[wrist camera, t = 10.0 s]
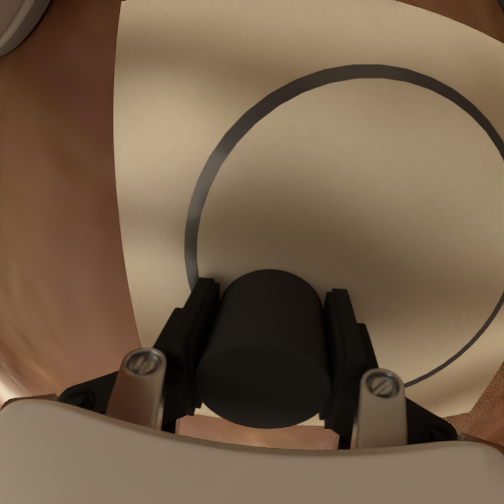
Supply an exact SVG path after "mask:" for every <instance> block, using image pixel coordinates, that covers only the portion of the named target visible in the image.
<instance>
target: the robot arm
mask: <svg viewBox="0 0 504 504" xmlns="http://www.w3.org/2000/svg"><path fill="white" fill-rule="evenodd" d="M219 303H220V285H219V283H216V282H215V280H214V278H203V277H200V278H199V279H198V281H197V283H196V284H195V286H194V288H193V290H192V292H191V294H190V296H189V297H188V299H187V301H186V303H185V305H184V307H183V308H178V307H176V308H175V309H174V310H173V312H172V313H171V315H170V317H169V319H168V320H167V322H166V324H165V326H164V327H163V329H162V331H161V333H160V335H159V336H158V338H157V340H156V342H155V344H154V345H153V347H152V348H149V347H144V348H138V349H135V350H133V351H131V352H129V353H128V354H127V355H126V356H125V357H124V359H123V360H122V363H121V366H120V369H119V371H116V372H113V373H111V374H108V375H105V376H102V377H99V378H96V379H93V380H90V381H87V382H84V383H81V384H78V385H75V386H72V387H70V388H68V389H66V390H65V391H64V392H62V394H61V395H60V396H59V397H57V395H56V394H48V395H40V396H31V397H21V398H13V399H9V400H8V401H6V402H5V403H4V404H3V405H2V407H1V410H0V504H504V447H503V446H501V445H498V444H495V443H492V442H489V441H486V440H483V439H480V438H477V437H474V436H471V435H468V434H465V433H461V434H460V435H457V433H456V430H455V429H454V427H453V426H452V425H451V424H450V423H448V422H447V421H445V420H444V419H442V418H440V417H439V416H437V415H435V414H433V413H432V412H430V411H428V410H427V409H425V408H423V407H422V406H420V405H418V404H417V403H415V402H413V401H412V400H410V399H409V398H407V397H405V387H404V383H403V381H402V379H401V378H400V376H398V375H397V374H396V373H394V372H392V371H390V370H388V369H383V368H379V366H378V362H377V359H376V356H375V352H374V349H373V345H372V342H371V339H370V336H369V332H368V329H367V326H366V324H365V323H357V321H356V317H355V314H354V310H353V307H352V304H351V300H350V297H349V294H348V291H347V289H337V288H333V289H332V291H331V292H327V293H326V297H325V302H324V308H323V315H324V322H325V330H326V337H327V345H328V353H329V361H330V370H331V379H332V391H331V396H330V398H329V401H328V403H327V404H326V406H325V407H324V408H323V409H322V410H321V411H320V412H319V420H324V426H325V429H331V430H333V431H334V432H335V433H337V437H336V443H335V449H334V450H298V449H278V448H265V447H254V446H245V445H237V444H229V443H222V442H215V441H209V440H203V439H198V438H192V437H187V436H182V435H178V431H179V418H182V417H184V416H186V415H190V416H193V415H194V412H195V409H196V408H198V409H200V408H201V406H202V403H203V402H202V401H201V399H200V398H199V396H198V394H197V392H196V389H195V385H194V376H195V370H196V368H197V365H198V362H199V359H200V356H201V353H202V351H203V348H204V345H205V342H206V339H207V337H208V334H209V331H210V328H211V325H212V323H213V320H214V317H215V314H216V311H217V309H218V306H219Z"/></svg>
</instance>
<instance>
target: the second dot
mask: <svg viewBox="0 0 504 504" xmlns="http://www.w3.org/2000/svg"><path fill="white" fill-rule="evenodd" d="M499 2H500V4H501V7H502V9H503V11H504V0H499Z"/></svg>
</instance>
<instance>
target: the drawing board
mask: <svg viewBox="0 0 504 504" xmlns="http://www.w3.org/2000/svg"><path fill="white" fill-rule="evenodd" d="M113 126H114V160H115V178H116V191H117V203H118V213H119V222H120V231H121V239H122V247H123V254H124V260H125V267H126V273H127V279H128V285H129V290H130V296H131V301H132V306H133V311H134V316H135V321H136V325H137V330H138V334H139V339H140V343H141V347H142V348H144V347H149V348H152V347H153V345H154V344H155V342H156V340H157V338H158V336H159V335H160V333H161V331H162V329H163V327H164V326H165V324H166V322H167V320H168V319H169V317H170V315H171V313H172V312H173V310H174V309H175V308H176V307H178V308H183V307H184V305H185V303H186V301H187V299H188V297H189V296H190V294H191V292H192V290H193V288H194V286H195V284H196V283H197V281H198V279H199V278H200V277H203V278H214V280H215V282H216V283H219V285H220V300H221V298H222V295H223V293H224V292H225V290H226V289H227V287H228V286H229V285H230V284H231V283H232V282H233V281H235V280H236V279H237V278H239V277H241V276H243V275H245V274H247V273H250V272H253V271H257V270H265V269H275V270H282V271H286V272H289V273H292V274H294V275H297V276H298V277H300V278H302V279H303V280H305V281H306V282H308V283H309V284H310V285H311V286H312V287H313V289H314V290H315V291H316V292H317V294H318V296H319V298H320V300H321V303H322V308H324V302H325V297H326V293H327V292H331V291H332V289H333V288H337V289H347V291H348V294H349V297H350V300H351V304H352V307H353V310H354V314H355V317H356V321H357V323H365V324H366V326H367V329H368V332H369V336H370V339H371V342H372V345H373V349H374V352H375V356H376V359H377V362H378V366H379V368H383V369H388V370H390V371H392V372H394V373H396V374H397V375H398V376H400V378H401V379H402V381H403V383H404V387H405V397H407V398H409V399H410V400H412V401H413V402H415V403H417V404H418V405H420V406H422V407H423V408H425V409H427V410H428V411H430V412H432V413H433V414H435V415H437V416H439V417H440V418H441V417H447V416H452V415H458V414H463V413H468V412H470V411H471V409H472V408H473V407H474V405H475V404H476V402H477V401H478V400H479V398H480V397H481V395H482V394H483V392H484V391H485V390H486V388H487V387H488V385H489V384H490V382H491V380H492V379H493V377H494V376H495V374H496V373H497V371H498V369H499V368H500V366H501V364H502V363H503V361H504V44H503V43H501V42H499V41H498V40H496V39H494V38H492V37H490V36H488V35H486V34H484V33H482V32H480V31H477V30H475V29H473V28H471V27H469V26H466V25H464V24H462V23H459V22H457V21H454V20H452V19H449V18H447V17H444V16H442V15H439V14H436V13H433V12H430V11H427V10H424V9H421V8H418V7H415V6H412V5H408V4H405V3H402V2H398V1H394V0H127V1H123V2H121V9H120V17H119V25H118V34H117V45H116V57H115V74H114V107H113ZM194 414H199V415H205V416H211V417H218V418H222V417H220V416H218V415H217V414H215V413H214V412H212V411H211V410H210V409H209V408H208V407H207V406H206V405H205V404H204V403H202V406H201V408H200V409H198V408H196V409H195V412H194ZM297 425H306V426H324V420H319V413H318V414H317V415H315V416H314V417H312V418H311V419H309V420H307V421H305V422H302V423H300V424H297Z"/></svg>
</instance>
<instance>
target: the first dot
mask: <svg viewBox="0 0 504 504" xmlns="http://www.w3.org/2000/svg"><path fill="white" fill-rule="evenodd" d="M194 385H195V389H196V392H197V394H198V396H199V398H200V399H201V401H202V402H203V403H204V404H205V405H206V406H207V407H208V408H209V409H210V410H211V411H212V412H214V413H215V414H217V415H218V416H220V417H222V418H224V419H226V420H228V421H230V422H233V423H236V424H239V425H243V426H247V427H253V428H262V429H275V428H284V427H289V426H293V425H297V424H300V423H302V422H305V421H307V420H309V419H311V418H312V417H314V416H315V415H317V414H318V413H319V412H320V411H321V410H322V409H323V408H324V407H325V406H326V404H327V403H328V401H329V398H330V396H331V391H332V379H331V370H330V361H329V353H328V345H327V337H326V330H325V322H324V315H323V308H322V303H321V300H320V298H319V296H318V294H317V292H316V291H315V290H314V289H313V287H312V286H311V285H310V284H309V283H308V282H306V281H305V280H303V279H302V278H300V277H298V276H297V275H294V274H292V273H289V272H286V271H282V270H275V269H265V270H257V271H253V272H250V273H247V274H245V275H243V276H241V277H239V278H237V279H236V280H235V281H233V282H232V283H231V284H230V285H229V286H228V287H227V289H226V290H225V292H224V293H223V295H222V298H221V300H220V303H219V306H218V309H217V311H216V314H215V317H214V320H213V323H212V325H211V328H210V331H209V334H208V337H207V339H206V342H205V345H204V348H203V351H202V353H201V356H200V359H199V362H198V365H197V368H196V370H195V376H194Z"/></svg>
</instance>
